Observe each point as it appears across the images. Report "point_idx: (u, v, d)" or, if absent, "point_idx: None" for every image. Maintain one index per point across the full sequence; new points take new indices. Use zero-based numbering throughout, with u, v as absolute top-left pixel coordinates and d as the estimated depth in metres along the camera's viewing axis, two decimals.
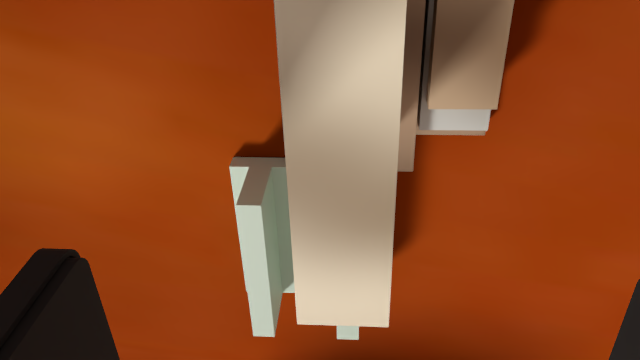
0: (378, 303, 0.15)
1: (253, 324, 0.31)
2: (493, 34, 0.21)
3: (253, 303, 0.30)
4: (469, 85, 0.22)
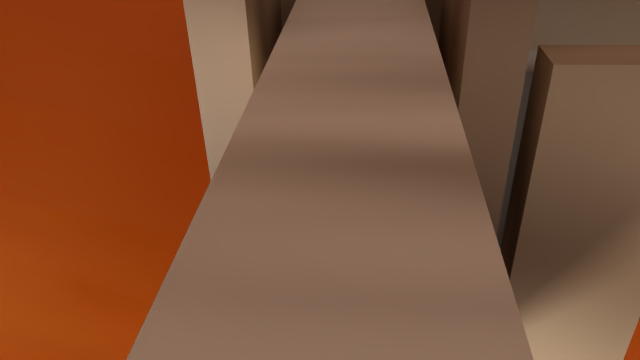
0: None
1: None
2: (632, 254, 0.11)
3: None
4: (573, 328, 0.12)
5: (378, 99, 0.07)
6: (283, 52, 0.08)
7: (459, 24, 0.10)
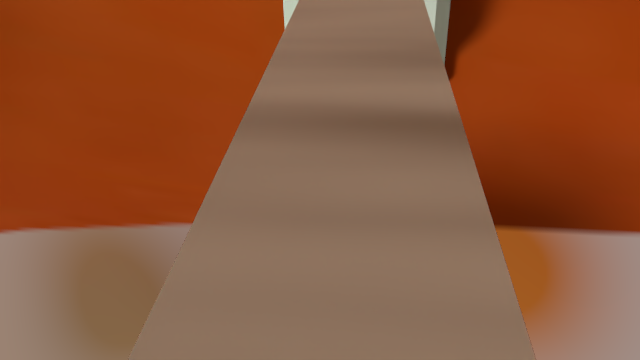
0: None
1: None
2: None
3: None
4: None
5: (379, 73, 0.08)
6: (292, 35, 0.09)
7: None
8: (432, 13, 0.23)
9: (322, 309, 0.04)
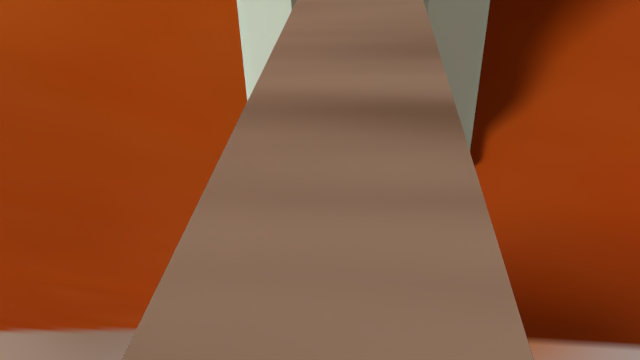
0: None
1: None
2: None
3: None
4: None
5: (376, 64, 0.08)
6: (293, 29, 0.09)
7: None
8: (460, 100, 0.15)
9: (321, 280, 0.04)
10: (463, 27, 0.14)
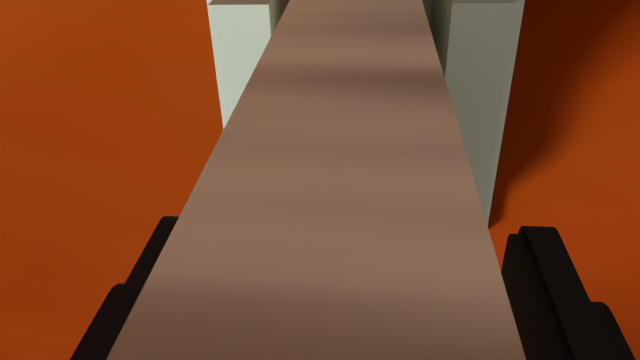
0: None
1: None
2: None
3: None
4: None
5: (372, 40, 0.08)
6: (294, 11, 0.10)
7: None
8: (484, 172, 0.12)
9: (321, 212, 0.05)
10: (491, 86, 0.11)
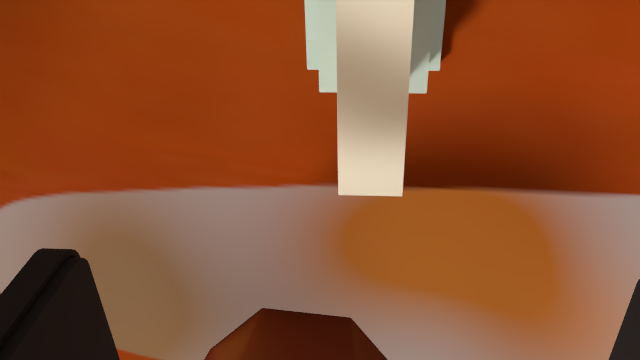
0: (395, 176, 0.21)
1: (320, 76, 0.30)
2: None
3: (322, 47, 0.29)
4: None
5: None
6: None
7: None
8: None
9: None
10: None
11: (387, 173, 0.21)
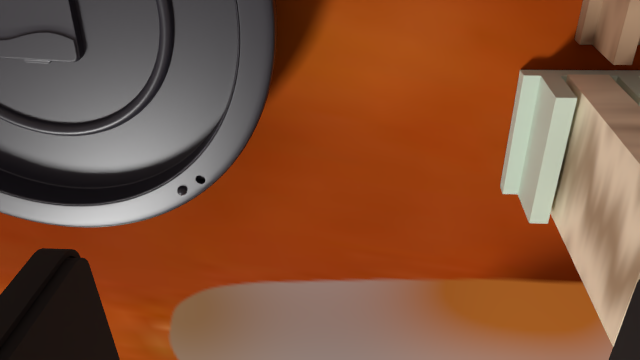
0: None
1: (532, 211, 0.36)
2: None
3: (539, 191, 0.35)
4: None
5: (631, 115, 0.30)
6: (593, 102, 0.31)
7: None
8: None
9: None
10: None
11: None
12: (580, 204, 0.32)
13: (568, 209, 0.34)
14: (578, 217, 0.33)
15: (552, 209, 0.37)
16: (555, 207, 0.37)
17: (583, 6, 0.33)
